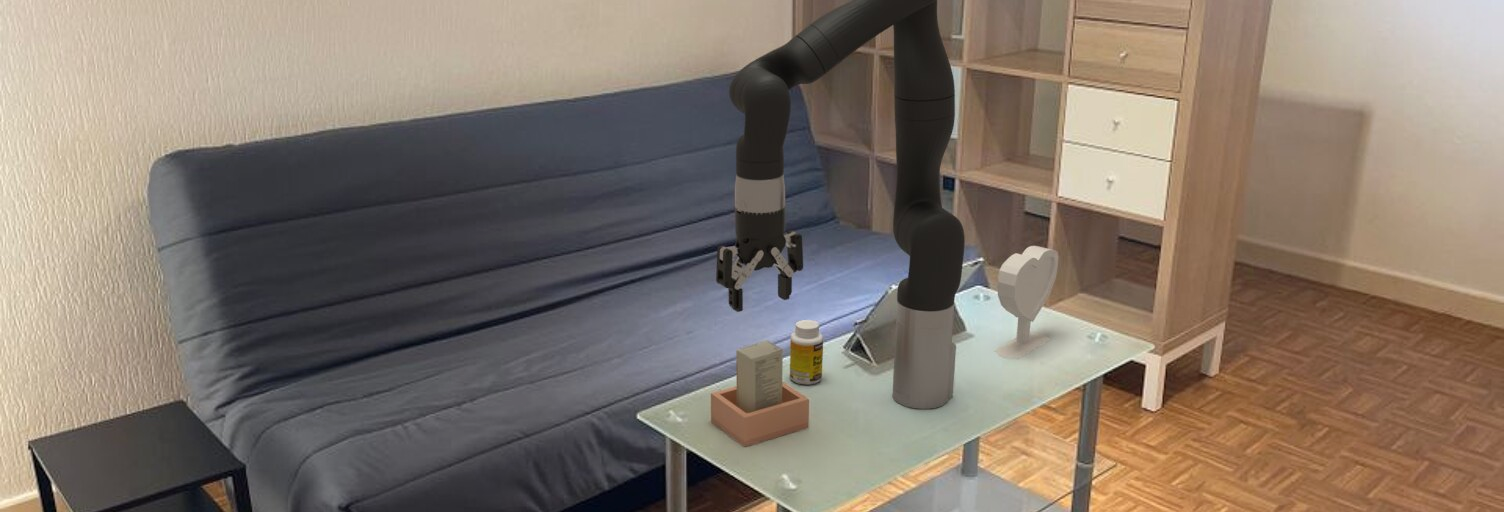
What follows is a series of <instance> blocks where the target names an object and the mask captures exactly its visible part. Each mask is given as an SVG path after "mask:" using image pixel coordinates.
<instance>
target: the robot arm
mask: <svg viewBox="0 0 1504 512" xmlns="http://www.w3.org/2000/svg"><path fill="white" fill-rule="evenodd" d="M938 21H939V20H938V0H850V1H849V2H848V1H847V3H844V4H842V5H840V6H838V7H836V8H834V9H832V10H831V11H829V12H826V13H825V14H824V15H822V16H820V17H818V18H817V19H815V20H814V21H812V23H810V24H809V25H808V26H805V28H804V29H802V30H801V31H800V32H799V33H797V34H795V36H794V37H792V38H791V39H790V40H789V41H787V42H786V43H785V44H783V45H781V46H779V47H777V48H775V49H773V50H771V51H769V52H767V53H766V54H763V55H761V56H760V57H757V58H756V59H754V60H752V61H750V62H749V63H748V64H747V65H745V66H744V67H742V68H741V69H740V70H739V71H738V72H737V73H736V75H735V76H734V77H733V78H732V80H731V82H730V85H729V93H728V94H729V95H728V96H729V99H730V101H731V104H732V105H733V106H734V108H736V110H738V111H739V112H741V113H743V114H744V130H743V135H741V136H740V137H739V138H738V140H737V143H736V147H735V160H736V161H735V166H736V167H735V169H736V170H735V171H736V172H735V175H736V176H735V181H734V182H735V185H734V232H735V234H736V235H735V236H736V241H735V244H734V246H733V245H732V246H727V247H726V246H724V245H719V246H718V247H717V249H716V252H717V253H716V270H715V271H716V277H715V278H716V279H715V281H716V284H719V285H721V286H722V287H723V288H725V289H728V305H729V307H731V309H732V310H734V311H735V312H737V313H739V312H743V310H744V304H743V303H744V301H743V300H744V298H743V297H744V296H743V294H744V291H743V288H742V286H743V285H744V283H745V281H747V279H748V278H749V277H751V275H752V273H753V271H755V272H756V271H759V270H762V269H764V268H767V269H768V268H772V267H773V266H774V268H775V269H776V270H777V271H778V272H779V273H778V274H777V296H778V298H779V299H782V301H787V300H790V296H791V295H792V292H793V291H792V290H793V276H794V274H795V273H796V272H801V271H803V269H804V253H803V251H804V250H803V236H802V235H801V234H799V233H798V232H795V231H793V230H788V231H787V232H786V184H785V176H784V162H785V159H784V157H785V156H784V143H785V141H786V137H787V133H788V127H789V124H790V123H789V121H790V116H791V110H792V103H791V96H790V95H791V94H790V90H791V89H793V88H795V87H796V86H799V85H808V84H809V85H810V84H813V83H815V82H816V81H818V80H820V79H821V78H823V77H824V76H825V75H826V74H828V72H830V71H831V70H833V69H834V68H835V67H837V65H839V64H840V63H842V62H843V61H844V60H845V59H847V58H848V57H849V56H851V55H852V54H853V53H854V52H856V51H857V50H858V49H860V48H862V47H863V46H864V45H865V44H867V43H869V41H871V40H872V39H874V38H875V37H877V36H878V35H880V34H881V33H883V32H884V31H886V30H888V29H889V28H891V27H893V29H892V30H893V68H894V70H893V71H894V73H893V74H894V75H893V76H894V86H893V87H894V91H893V94H894V95H893V97H894V103H893V104H894V123H895V124H894V126H895V154H896V155H895V156H896V157H895V159H896V183H895V185H896V186H895V195H894V196H895V197H894V205H893V206H894V207H893V219H892V224H893V225H892V229H893V230H892V231H893V235H894V237H893V238H894V240H895V241H896V244H897V246H898V247H899V248H900V249H901V250H902V251H903V252H904V253H905V254H907V255H908V256H909V265H908V275H907V277H906V278H904V279H902V280H900V282H899V283H898V285H897V292H896V294H897V295H896V311H895V312H896V313H895V314H896V316H895V334H894V335H895V336H894V355H893V356H894V358H893V376H892V377H893V378H892V381H893V382H892V398H893V400H895V402H897V403H898V404H900V405H902V406H904V407H908V408H913V409H920V410H921V409H923V410H926V409H929V410H930V409H934V408H939V407H941V406H943V405H945V404H946V403H947V402H948V400H949V399H952V398H953V397H954V385H955V371H956V370H955V368H956V354H957V346H956V343H954V342H953V331H954V330H953V328H954V313H955V311H954V310H955V297H956V294H957V293H958V290H959V288H960V286H961V281H962V275H963V274H962V273H963V267H964V266H963V264H964V255H965V245H966V244H965V243H966V242H965V241H966V240H965V230H964V226H963V224H962V222H961V221H960V219H959V218H958V217H957V216H955V215H954V214H953V213H951V212H949V211H948V210H946V209H945V208H943V206H942V205H943V204H942V199H941V182H940V177H941V175H940V173H941V171H940V170H941V165H942V161H943V158H944V155H945V153H946V150H947V148H948V145H949V143H950V141H951V137H952V134H953V132H954V127H955V118H956V117H955V116H956V94H955V93H956V92H955V91H956V89H955V79H954V73H953V70H952V67H951V63H950V60H949V57H948V54H947V51H946V48H945V45H944V41H943V39H942V36H941V33H940V28H939V22H938ZM785 232H786V234H785ZM785 246H786V247H787V249H786V250H787V260H786V259H785V257H784V256H783V255H782V251H783V250H784V248H785ZM736 256H737V258H735V257H736ZM743 266H745V267H744V268H743Z"/></svg>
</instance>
